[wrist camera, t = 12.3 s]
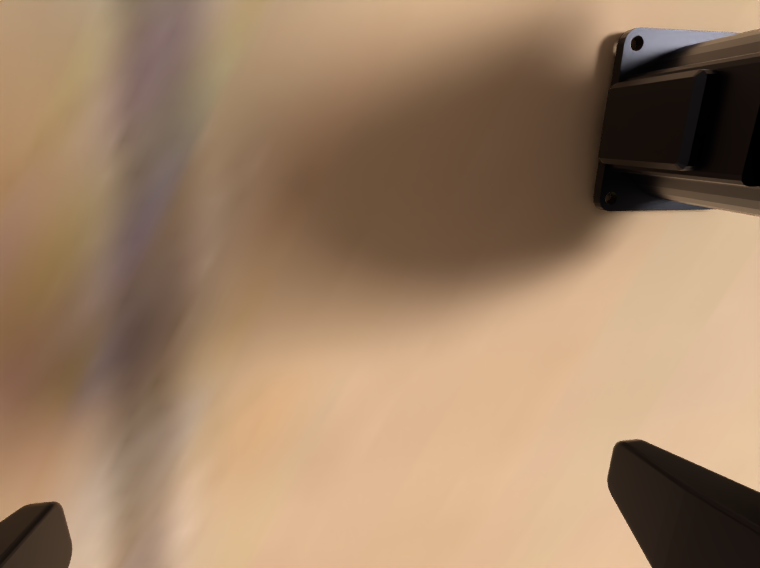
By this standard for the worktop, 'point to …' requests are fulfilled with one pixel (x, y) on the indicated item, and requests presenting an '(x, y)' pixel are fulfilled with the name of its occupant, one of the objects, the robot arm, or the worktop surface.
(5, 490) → the worktop surface
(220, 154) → the worktop surface
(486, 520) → the worktop surface
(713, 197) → the robot arm
